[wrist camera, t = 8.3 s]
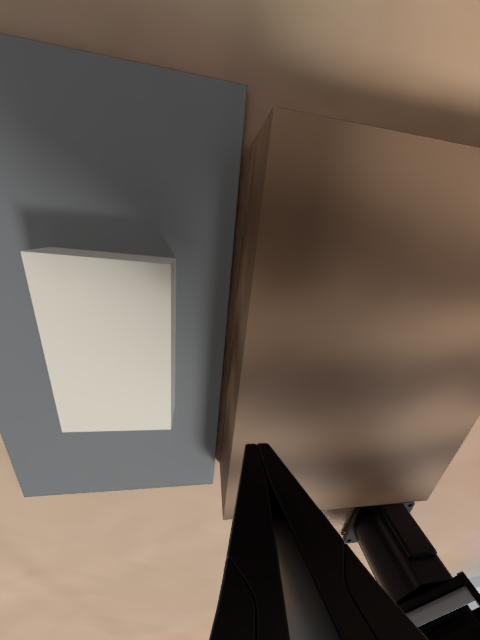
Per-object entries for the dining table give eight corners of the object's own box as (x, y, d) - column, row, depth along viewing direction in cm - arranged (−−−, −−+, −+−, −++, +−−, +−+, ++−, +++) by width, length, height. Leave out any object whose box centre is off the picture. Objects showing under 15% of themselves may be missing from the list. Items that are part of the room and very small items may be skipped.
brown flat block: (389, 453, 22) (426, 500, 18) (219, 463, 19) (223, 519, 16) (516, 189, 14) (627, 177, 10) (251, 144, 11) (274, 106, 8)
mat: (212, 480, 20) (212, 483, 20) (27, 492, 18) (24, 497, 17) (246, 89, 10) (247, 85, 10) (-149, 7, 8) (-162, -1, 8)
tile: (62, 432, 13) (79, 407, 15) (170, 429, 14) (174, 405, 16) (20, 251, 10) (49, 246, 11) (170, 264, 11) (176, 258, 12)
